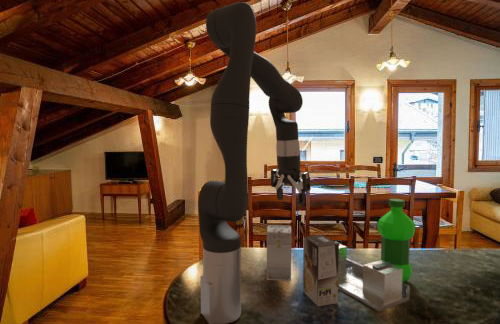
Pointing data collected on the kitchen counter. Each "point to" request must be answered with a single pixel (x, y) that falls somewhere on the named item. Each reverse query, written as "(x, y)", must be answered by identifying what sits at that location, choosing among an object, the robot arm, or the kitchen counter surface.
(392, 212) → the plastic bottle
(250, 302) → the kitchen counter surface
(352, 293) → the plate
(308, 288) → the coffee box
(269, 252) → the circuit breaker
